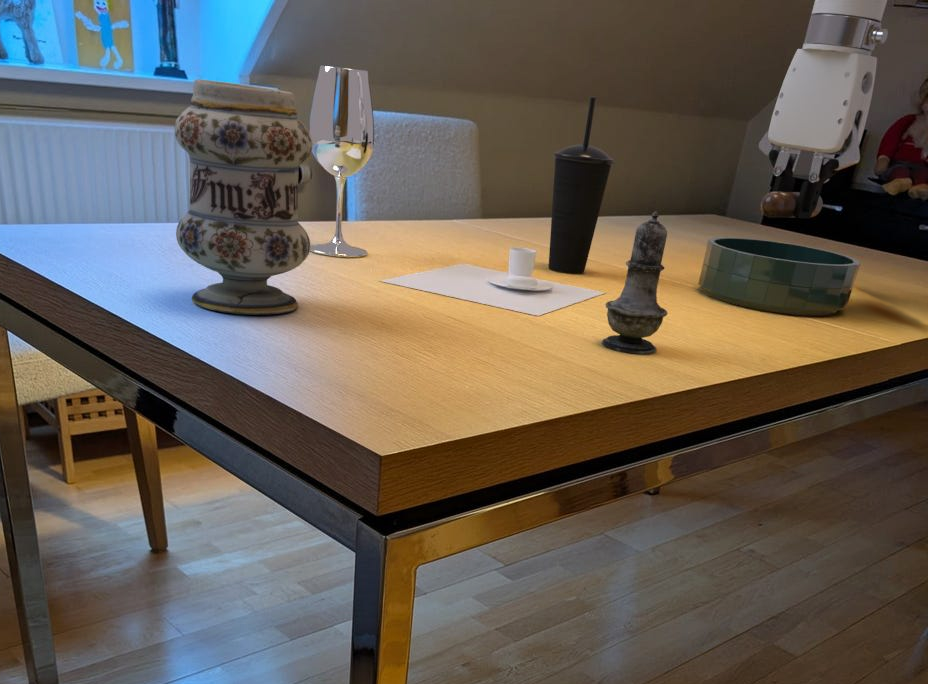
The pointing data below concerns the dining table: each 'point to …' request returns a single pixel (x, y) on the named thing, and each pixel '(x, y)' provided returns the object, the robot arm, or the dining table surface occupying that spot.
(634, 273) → the salt shaker
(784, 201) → the stick
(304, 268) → the dining table surface
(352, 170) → the wineglass
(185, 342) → the dining table surface
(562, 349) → the dining table surface
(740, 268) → the bowl
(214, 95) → the apothecary jar
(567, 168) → the drinking cup
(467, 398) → the dining table surface
